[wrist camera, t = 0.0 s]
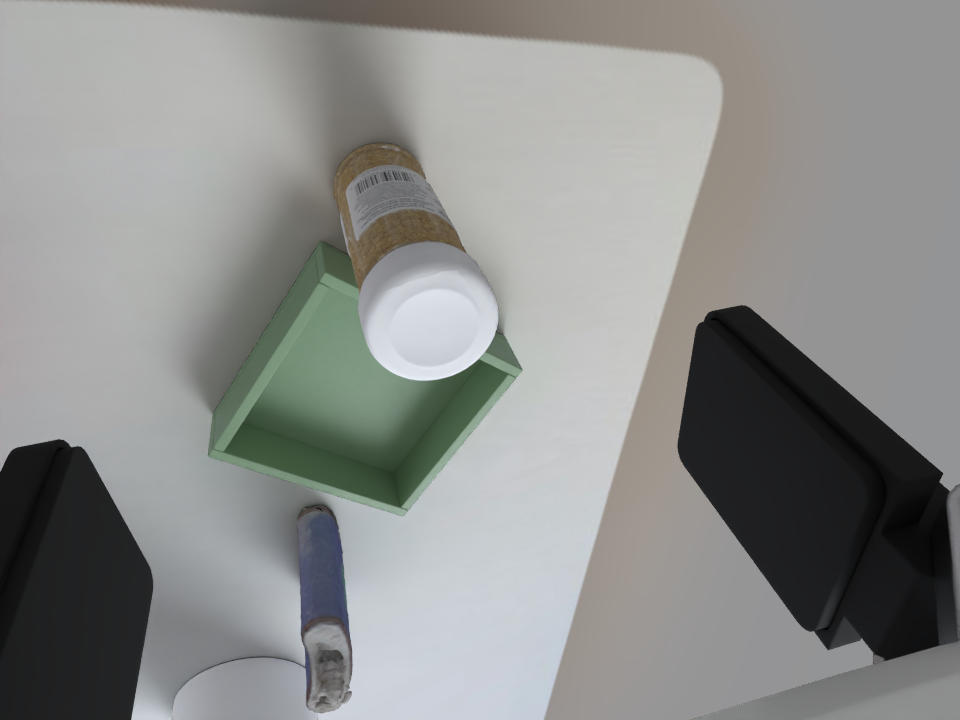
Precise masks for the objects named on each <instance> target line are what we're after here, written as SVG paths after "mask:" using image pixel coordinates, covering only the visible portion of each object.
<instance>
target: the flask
mask: <svg viewBox="0 0 960 720" xmlns="http://www.w3.org/2000/svg"><path fill="white" fill-rule="evenodd" d="M315 507H318V508H320V509H322V510H323V511H322V510H320V509H317V508H315ZM338 529H339V528H338V525H337V522H336V518H335V516H334V514H333V513H332V511H331V510H329V508H328V507H324V506H319V505H317V506H314V507H311V508H304V509H303V511H302V512H301V514H300V515H299V517H298V523H297V530H298V541H299V565H300V585H301V589H300V594H301V637H302V642H303V645H304V646H305V660H306V662H305V666H306V681H307V682H306V686H307V688H306V706H307V708H308V709H309V710H311V711H313V712H314V713H325V712H330V711H335V710H336V709H338V708H339V707H340V706H341V704H345V703H347V702H348V701H349V699H350V697H351V695H352V692H351V691H348V689H349V688H350V687H349V684H350V680H351V676H352V647H351V640H350V633H349V620H348V613H347V600H346V591H345V579H344V566H343V559H342V558H343V557H342V553H343V552H342V548H341V540H340V536H339V535H340V534H339V532H338ZM347 691H348V692H347Z"/></svg>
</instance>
